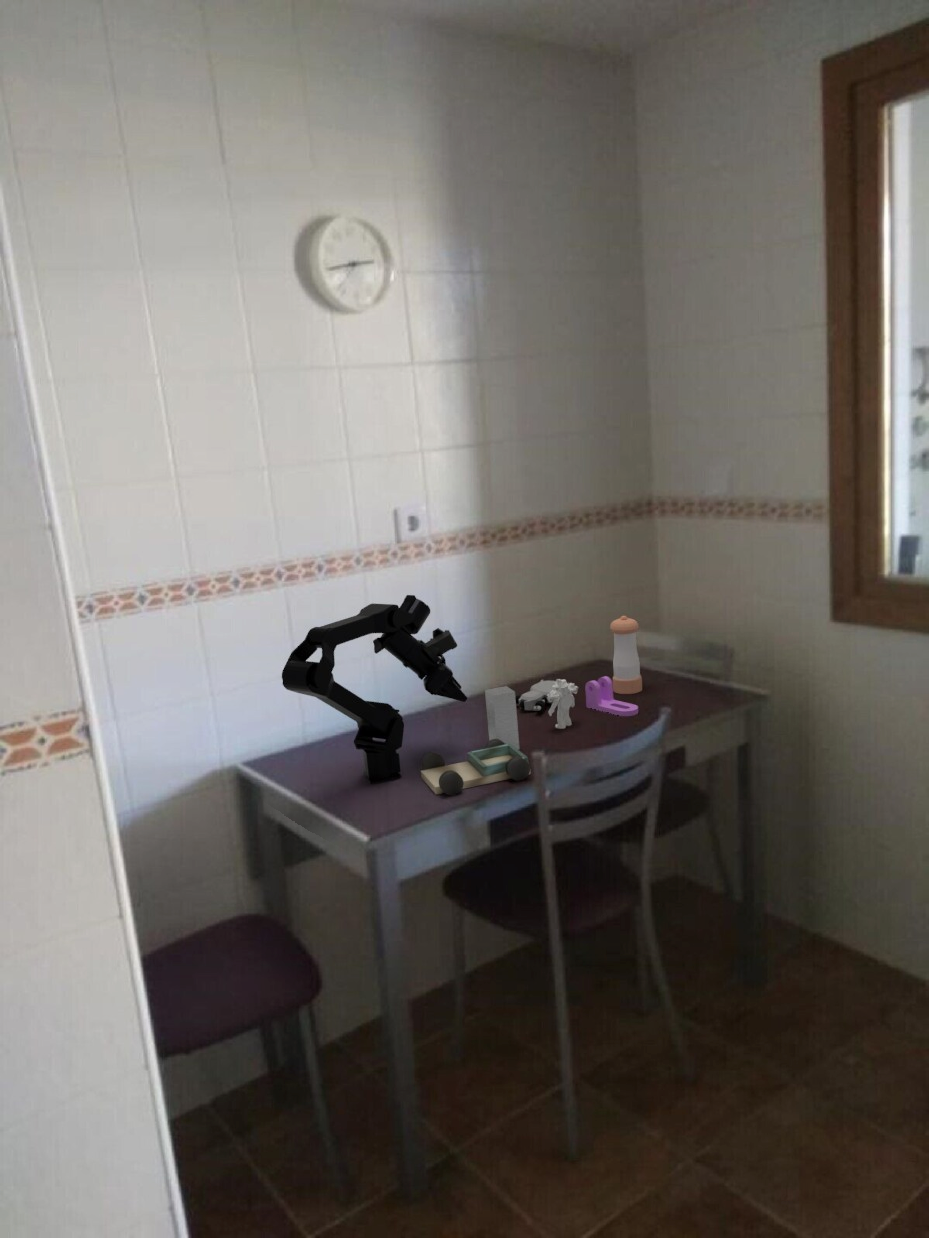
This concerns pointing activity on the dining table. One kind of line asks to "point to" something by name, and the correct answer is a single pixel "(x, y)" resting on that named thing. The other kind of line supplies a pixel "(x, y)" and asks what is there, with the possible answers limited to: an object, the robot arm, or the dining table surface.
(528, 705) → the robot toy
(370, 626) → the robot arm
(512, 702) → the tall gray rectangular block
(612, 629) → the pepper shaker
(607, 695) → the bracket
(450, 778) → the toy car chassis
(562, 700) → the flower shoulder figurine
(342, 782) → the dining table surface
